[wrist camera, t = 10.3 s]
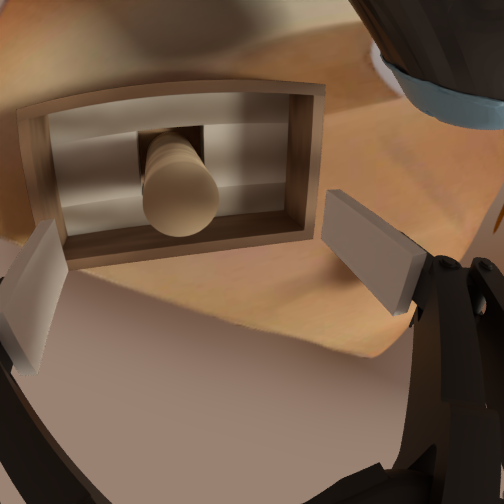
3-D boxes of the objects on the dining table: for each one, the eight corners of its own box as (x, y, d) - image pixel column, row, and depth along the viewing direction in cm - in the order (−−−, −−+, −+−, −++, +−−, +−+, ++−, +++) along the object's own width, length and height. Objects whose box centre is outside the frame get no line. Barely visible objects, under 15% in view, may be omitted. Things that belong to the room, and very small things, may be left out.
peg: (145, 134, 28) (138, 168, 16) (191, 129, 29) (218, 160, 18) (148, 178, 30) (147, 241, 19) (193, 173, 31) (220, 232, 20)
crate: (47, 103, 23) (15, 109, 16) (287, 83, 29) (325, 84, 23) (67, 233, 30) (49, 273, 23) (281, 207, 36) (313, 239, 30)
